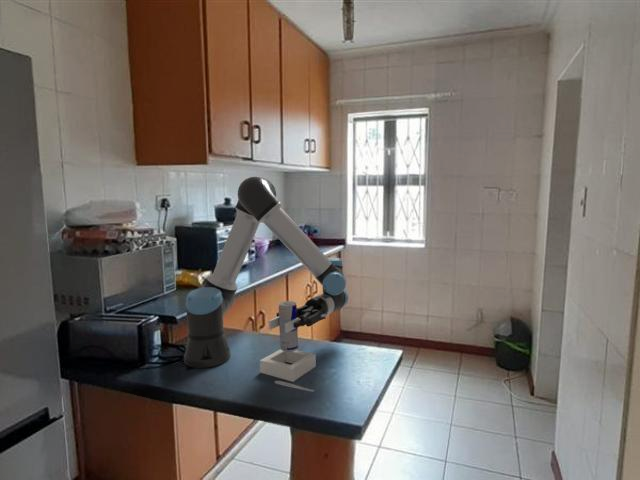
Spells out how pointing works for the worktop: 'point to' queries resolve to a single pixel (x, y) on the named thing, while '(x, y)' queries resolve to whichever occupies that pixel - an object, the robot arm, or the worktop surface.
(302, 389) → the butter knife
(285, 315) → the beverage can
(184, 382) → the worktop surface
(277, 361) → the socket block
